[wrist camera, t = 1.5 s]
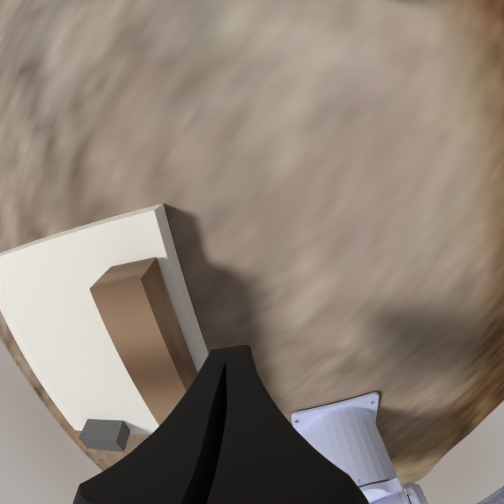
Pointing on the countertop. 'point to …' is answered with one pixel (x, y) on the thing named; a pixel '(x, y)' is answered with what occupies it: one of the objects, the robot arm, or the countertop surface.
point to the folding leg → (146, 333)
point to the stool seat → (90, 319)
